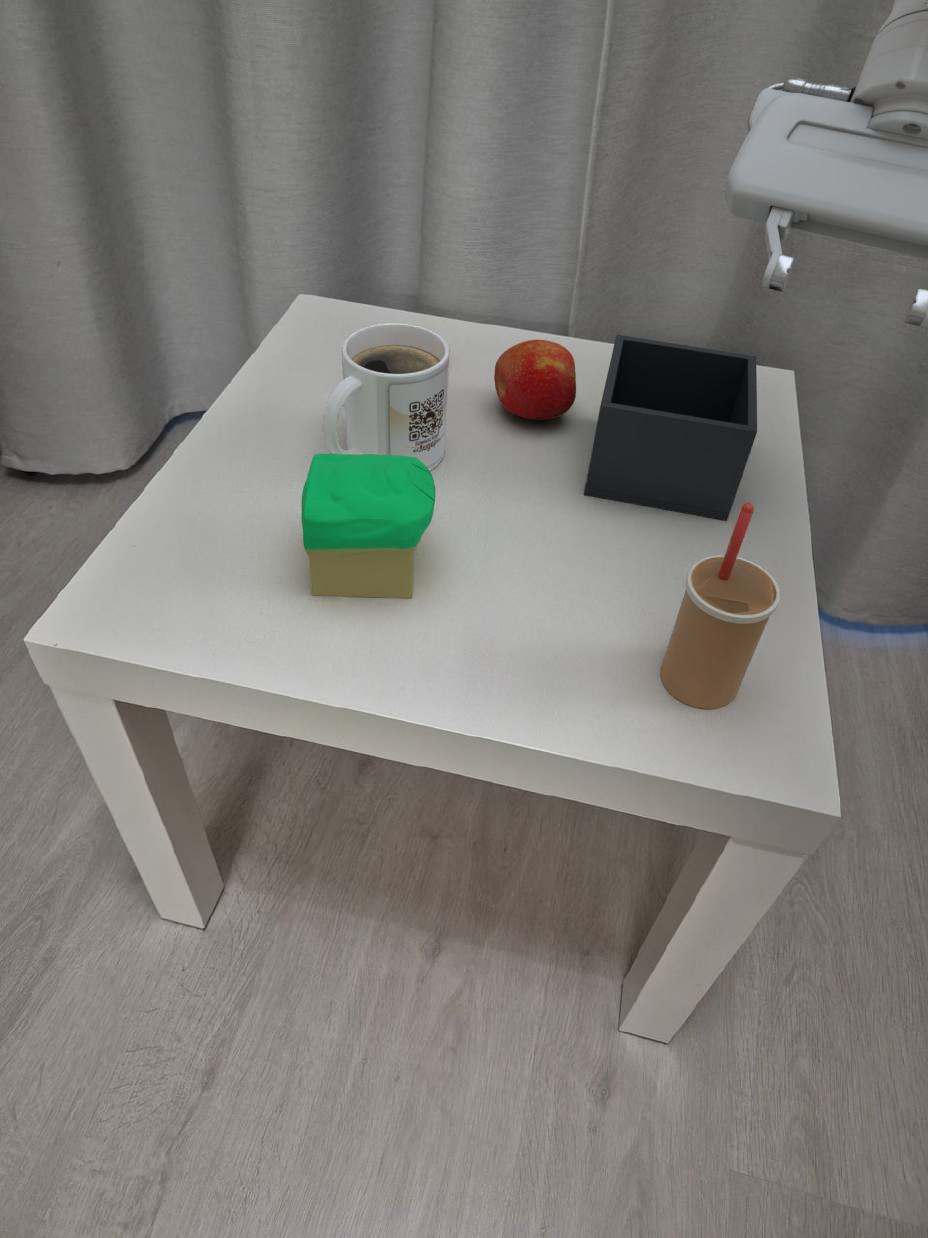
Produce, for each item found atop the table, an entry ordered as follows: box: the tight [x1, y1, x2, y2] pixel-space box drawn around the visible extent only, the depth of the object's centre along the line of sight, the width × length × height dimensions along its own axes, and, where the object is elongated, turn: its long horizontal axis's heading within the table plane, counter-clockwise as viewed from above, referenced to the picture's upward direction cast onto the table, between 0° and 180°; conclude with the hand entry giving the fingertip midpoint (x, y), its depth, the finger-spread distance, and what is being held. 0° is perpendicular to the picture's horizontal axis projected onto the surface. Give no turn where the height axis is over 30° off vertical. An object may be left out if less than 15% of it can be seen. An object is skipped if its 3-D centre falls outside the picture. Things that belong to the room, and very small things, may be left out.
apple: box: [493, 339, 577, 421], centre depth 91 cm, size 8×8×8 cm
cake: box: [301, 452, 436, 599], centre depth 72 cm, size 10×11×10 cm
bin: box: [583, 334, 758, 521], centre depth 84 cm, size 14×14×10 cm
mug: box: [322, 322, 450, 472], centre depth 83 cm, size 10×12×11 cm
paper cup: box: [659, 502, 781, 710], centre depth 62 cm, size 6×6×16 cm
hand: (843, 304), depth 58 cm, fingers open, 8 cm apart
